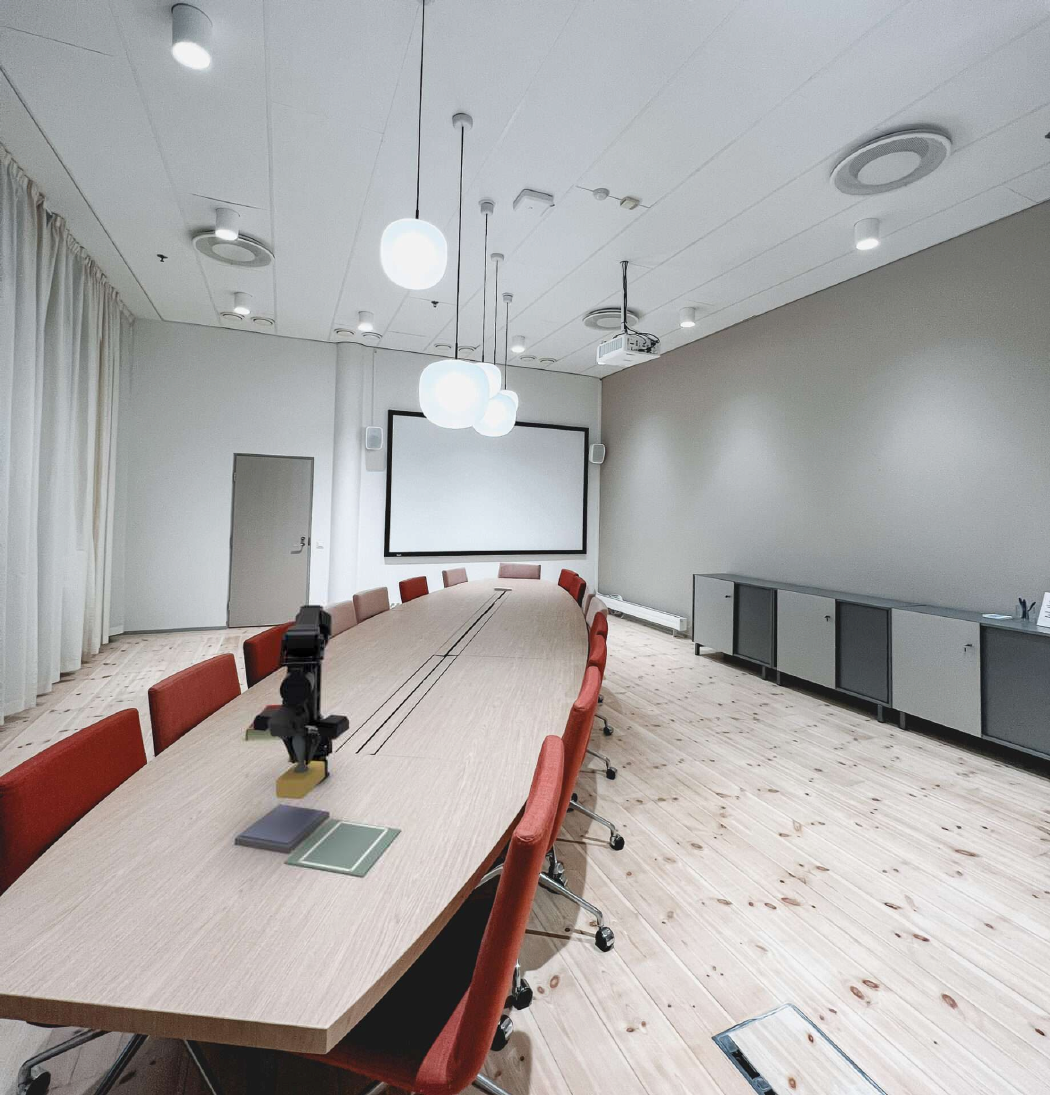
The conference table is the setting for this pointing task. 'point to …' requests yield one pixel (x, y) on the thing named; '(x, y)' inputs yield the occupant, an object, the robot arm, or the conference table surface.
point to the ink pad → (282, 828)
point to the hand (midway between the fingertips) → (301, 763)
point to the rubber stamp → (300, 773)
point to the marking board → (344, 847)
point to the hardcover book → (258, 734)
